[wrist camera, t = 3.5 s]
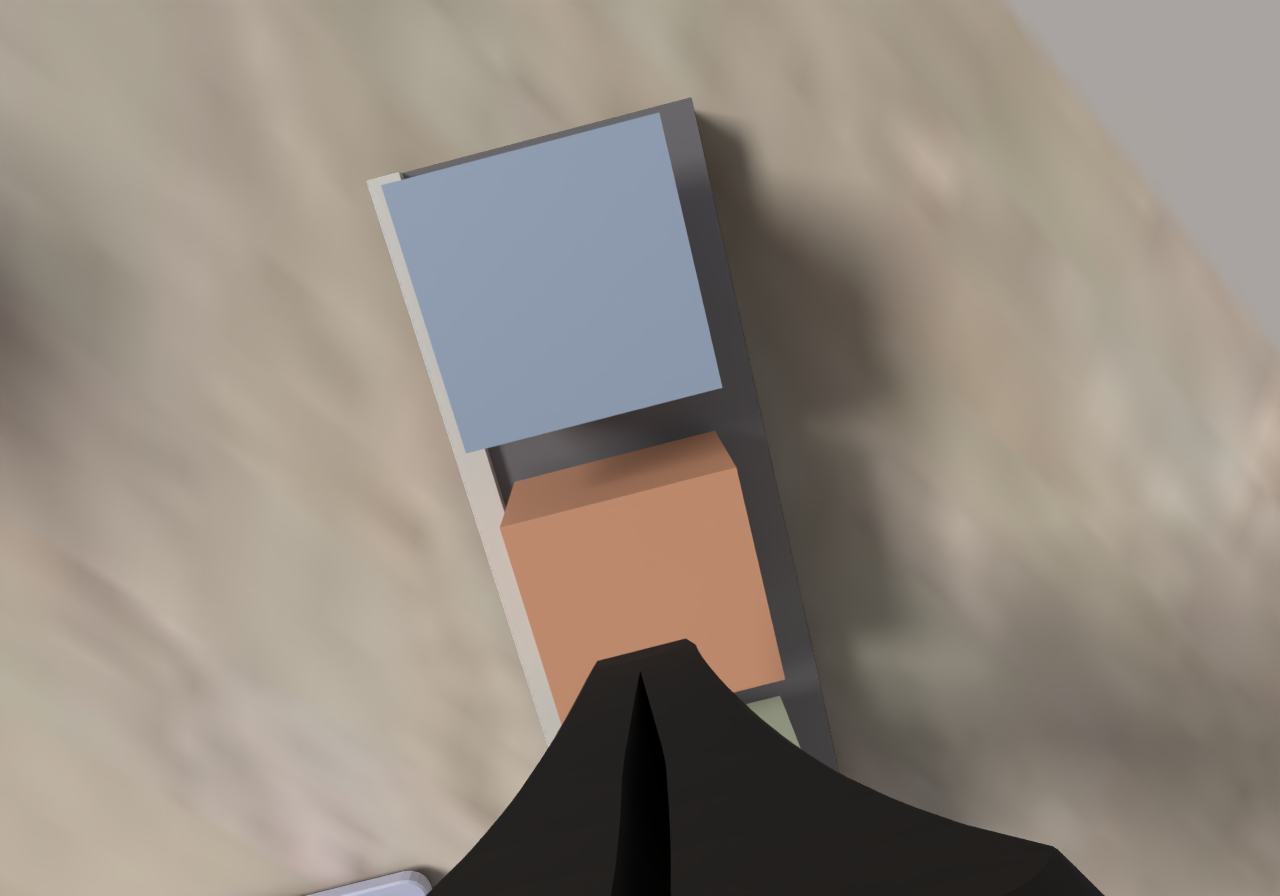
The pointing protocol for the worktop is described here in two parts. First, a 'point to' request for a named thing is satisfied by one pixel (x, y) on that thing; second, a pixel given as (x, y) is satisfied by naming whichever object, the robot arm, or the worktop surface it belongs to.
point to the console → (647, 439)
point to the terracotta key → (641, 564)
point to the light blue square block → (556, 282)
